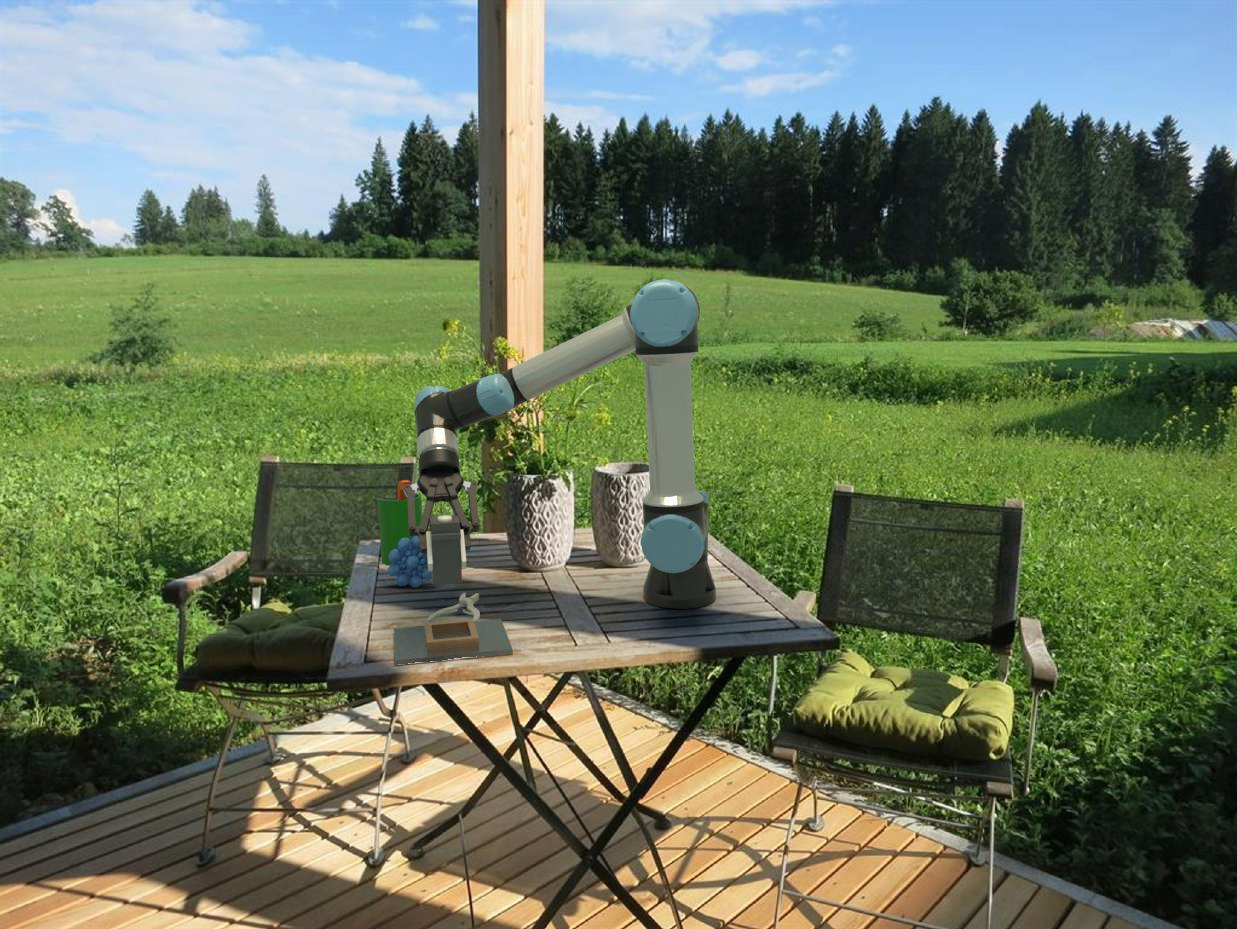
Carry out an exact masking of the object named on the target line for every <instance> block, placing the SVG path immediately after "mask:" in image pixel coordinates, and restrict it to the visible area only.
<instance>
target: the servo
mask: <svg viewBox="0 0 1237 929" xmlns="http://www.w3.org/2000/svg"><path fill="white" fill-rule="evenodd" d="M428 530H429V531H430V532H431V546H432V560H433V571H431V576H432V579H431V580H432V585H433V586H439V585H440V586H441V585H442V586H443V585H454V584H462V583H463V571H462V570H463V569H462V568H461V533H460V521H459V518H458V515H454V514H450V515H449V514H445V515H431V516H430V517H429V526H428Z"/></svg>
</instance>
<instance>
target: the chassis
mask: <svg viewBox="0 0 1237 929" xmlns="http://www.w3.org/2000/svg"><path fill="white" fill-rule="evenodd" d="M393 636H394V637H393V640H394V643H393V644H394V646H393V647H394V666H395V667H397V666H396V665H398V664H408V663H415V662H430V661H441V662H443V661H442V660H448V659H454V658H462V657H476V656H477V657H481V656H491V657H498V656H509V655H510V656H511V655H513V651H514V650H513V647H512V644H511V642H510V638H509V636H508V633H507V631H506V627H505V625H504V623H503V621H502V618H497V619H486V620H478V621H474V619H473V618H472V619H461V620H450V621H439V622H438V621H437V622H426V623H424V624H423V625H421V626H418V625H417V626H409V627H400V628H397V627H396V628H393ZM481 658H482V657H481Z"/></svg>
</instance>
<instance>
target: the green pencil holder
mask: <svg viewBox="0 0 1237 929" xmlns="http://www.w3.org/2000/svg"><path fill="white" fill-rule="evenodd" d="M406 483H408V484H410V485H412V484H411V481H410V480H408V479H403V480H399V481H398V482H397V492H396V494H397V497H396V498H397V499H391V500H390V499H383V498H381V497H378V498H377V506H378V507H377V509H378V510H377V511H378V526H379V527H378V529H379V540H380V543H379V544H380V554H381V557H380V558H381V563H382V564H383V565H387V566H390V565H391V564H392V562H391V561H390V560H389V553H390V552H391V551H392V550H393V549H398V542H399V540H400V539H402V538H409V539H410V540H411V539H412V538H413V536H410V535H409V525H408V501H407V499H406V497H405V495H404V484H406ZM414 499H415V523H416V526H419V527H420V524H421V520H422V516H423V506H422V505H423V504H422V494H421V493H417V495H416V496H415V497H414Z"/></svg>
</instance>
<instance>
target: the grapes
mask: <svg viewBox="0 0 1237 929" xmlns="http://www.w3.org/2000/svg"><path fill="white" fill-rule="evenodd" d="M389 560H390V561H391V562H392V564H391V565H388V568H387V573H388V575H389V576H390V577H396V578H395V579H396V580H395V581H396V585H398V587H405V586H407V585H408V584H409V585H410V587H411V588H415V589H417V588H418V587H420V586H422V584H423V582H424V580H425V581H430V580H432V576H431V571H428V561H427V553H421V551H420V539H419V537H418V536H413V538H412V539H411V540H410V539H409V538H402V539H400V540H399V542H398V549H393V550H392V551H391V552H390V553H389Z"/></svg>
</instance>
